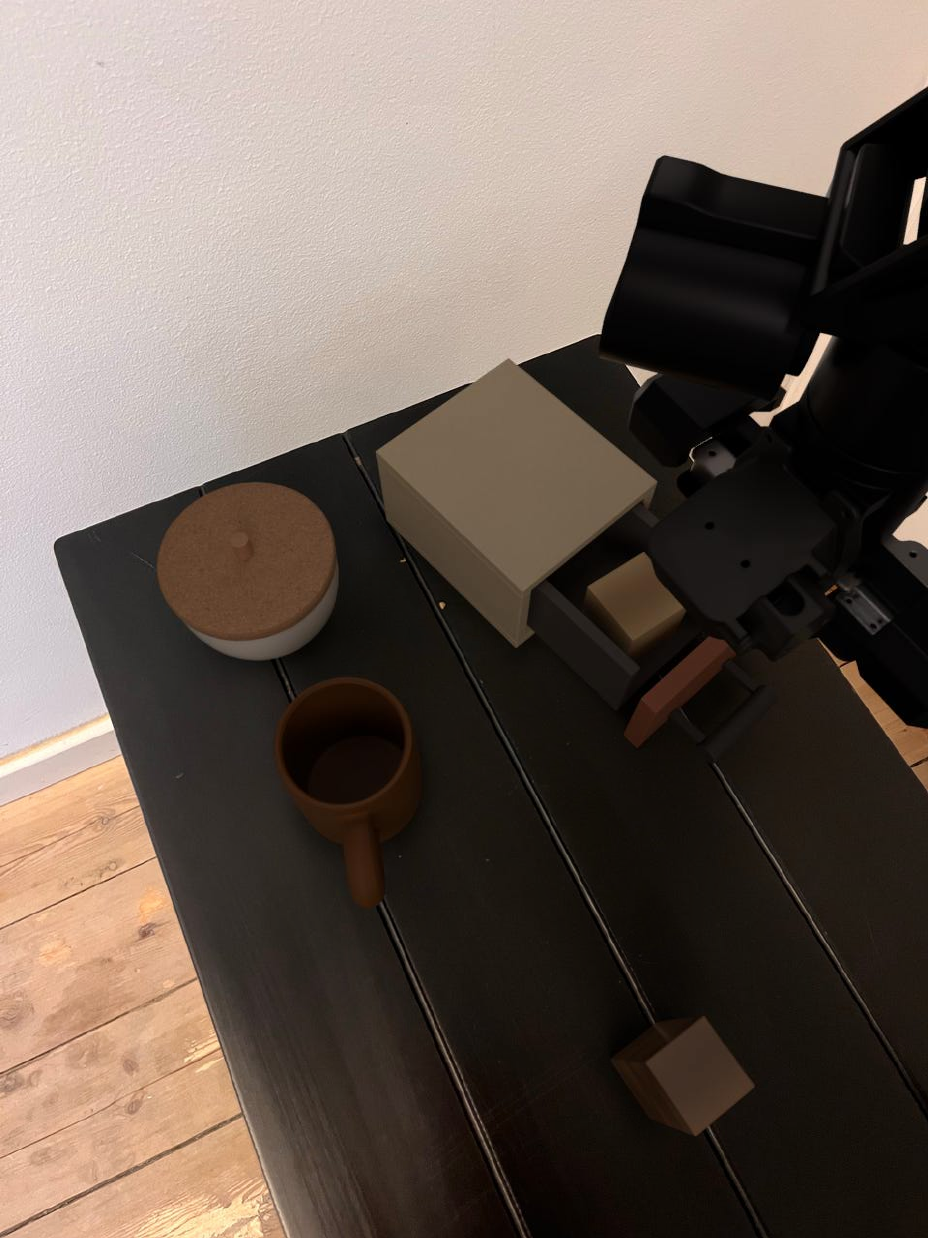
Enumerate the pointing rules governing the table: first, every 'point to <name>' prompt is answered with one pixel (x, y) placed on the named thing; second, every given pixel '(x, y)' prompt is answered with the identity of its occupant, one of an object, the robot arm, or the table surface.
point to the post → (683, 1073)
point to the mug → (351, 772)
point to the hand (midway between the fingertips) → (757, 606)
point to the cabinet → (505, 491)
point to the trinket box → (251, 570)
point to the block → (633, 607)
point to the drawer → (621, 676)
